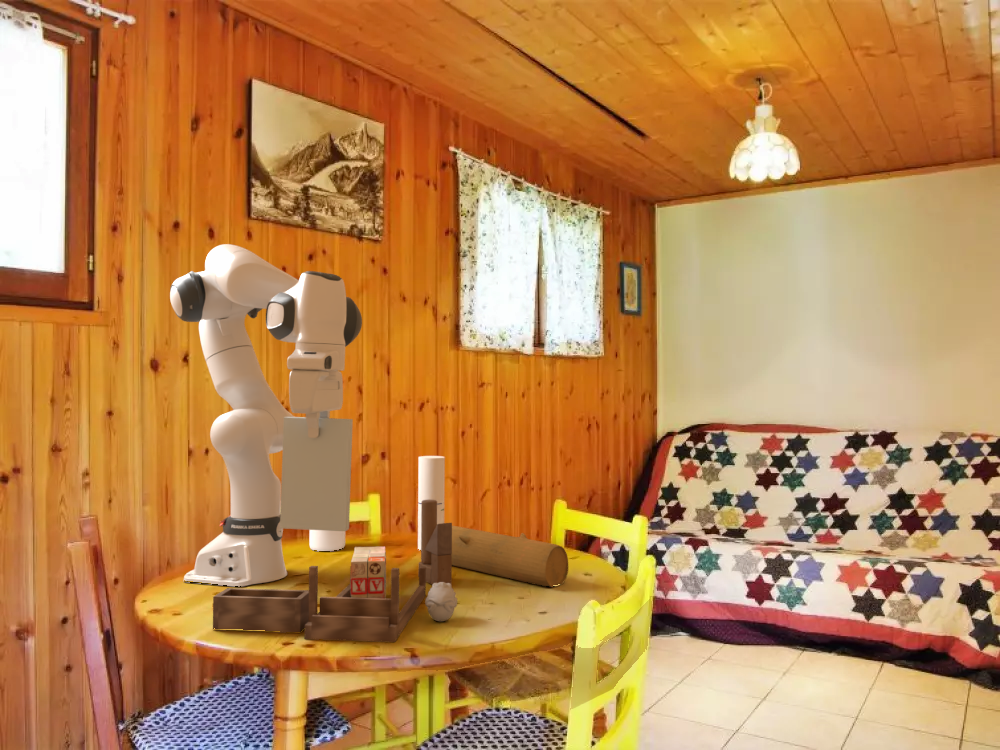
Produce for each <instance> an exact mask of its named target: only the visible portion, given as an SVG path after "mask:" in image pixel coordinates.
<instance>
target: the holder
mask: <svg viewBox="0 0 1000 750" xmlns="http://www.w3.org/2000/svg"><path fill="white" fill-rule="evenodd" d="M308 622H309V589H308V590H307V589H305V590H303V589H278V588H277V589H275V588H273V589H271V588H270V589H268V588H243V587H242V588H241V587H236V588H232V587H227V588H226V589H224V590H222V591H220V592H218V593H217V594H216V595H213V596H212V630H213V629H214V628H215V629H243V630H265V631H280V632H279V633H286V632H301V631H302V630H303V629H304V628H305V625H306V624H307V623H308ZM304 630H305V629H304ZM304 630H303V631H304ZM303 631H302V632H303ZM302 632H301V633H302Z"/></svg>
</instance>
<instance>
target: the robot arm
mask: <svg viewBox="0 0 1000 750" xmlns="http://www.w3.org/2000/svg"><path fill="white" fill-rule="evenodd" d="M344 281H345V280H344V279H343V278H342V277H340V276H339V275H337V274H333V273H328V272H321V271H313V270H308V271H307V270H306V271H304V272H302V273H301V275H300V277H299V279H298V278H296V277H294V276H293V275H291V274H289V273H287V272H285V271H284V270H281V269H280V268H278V267H276V266H275V265H273V264H272V263H270V262H268V261H266V260H265V259H263V258H262V257H260V256H259V255H257V254H256V253H254V252H253V251H251V250H249V249H246V248H245V247H242V246H239V245H235V244H230V243H227V244H226V243H225V244H224V243H223V244H219V245H217V246H215V247H213V248H212V249H211V250H210V251H209V252H208V254H207V256H206V258H205V262H204V271H203V270H202V271H198V272H194V271H193V270H191V271H190V272H187V274H184V275H183V276H180V277H177V278H176V279H175V280H173V283H172V284H171V286H170V292H169V299H170V300H169V301H170V303H171V307H172V309H173V311H174V312H175V315H176V316H177V317H178V319H180V320H181V321H182V322H186V323H187V322H189V323H198V334H199V339H200V345H201V349H202V354H203V357H204V361H205V363H206V366H207V369H208V372H209V375H210V377H211V380H212V384H213V386H214V389H215V391H216V392H217V395H218V396H219V397H221V398H222V399H223V400H224V401H225V402H226V403H228V405H230V407H231V408H232V410H230V411H228V412H226V413H223V414H220V415H219V416H217V417H216V418H215V420H214V421H213V423H212V425H211V427H210V432H209V436H210V441H211V444H212V447H213V448H214V449H215V451H216V452H218V454H219V455H220V456H221V457H222V459H223V461H224V464H225V468H226V470H227V471H226V472H227V474H228V479H229V485H230V515H228V517H225V518H224V519H223V520H221V521H219V523H220V524H219V527H222V532H221V533H220V534H218V535H217V536H216V537H215V538H214V539H213V540H211V541H210V542H209V543H207V544H206V545H204V547H202V548H201V549H200V550H199V551H198V553H197V556H196V557H195V558H196V559H195V564H194V568H193V569H192V570H190V571H188V572H186V574H184V576H183V581H184V580H185V581H193V582H202V583H211V584H210V585H212V584H218V585H217V586H223V585H227V587H235V586H238V587H237V588H241V587H246V586H251V585H257V584H262V583H269V582H274V581H278V580H280V579H283V578H286V576H288V571H287V569H286V564H285V561H284V555H283V545H282V538H283V533H284V532H283V531H284V528H280V514H281V485H282V482H281V480H280V478H279V477H278V476H277V475H276V474H275V473H274V470H273V466H272V465H271V464H272V463H271V459H270V455H271V454H275V453H279V452H281V451H282V452H283V427H284V417H295V416H294V415H293V414H305V417H306V422H307V426H308V437H310V438H317V437H319V436H320V428H319V418H330V417H331V411H339V410H341V409H342V407H343V403H344V387H343V386H344V385H343V383H344V381H343V380H344V379H343V374H342V372H341V371H343V372H344V371H345V367H346V365H345V363H346V362H345V361H346V360H345V359H346V347H348V346H349V345H351V343H352V342H354V340H355V339H356V338H357V337H358V335H359V334H360V333H361V330H362V326H363V317H362V313H361V311H360V309H359V306H357V304H356V303H355V301H354V300H353V299H352V298H351V297H349V296H347V293H346V285H345V282H344ZM263 309H265V324H266V328H267V330H268V332H269V333H270V334H271V336H272V337H273V338H274V339H276V340H277V341H282V342H286V343H294V345H295V349H294V351H293V352H292V354H290V355H289V356H288V357H287V361H286V366H287V369H288V370H290V372H289V377H288V378H289V379H288V395H289V398H288V399H289V400H288V401H289V406H290V410H291V412H292V413H291V412H289V411H288V410H287V409H286V408H285V406H283V404H282V403H281V401H280V400H279V399H278V397H277V395H276V394H275V393H274V391H273V390H272V388H271V386H270V385H269V383H268V382H267V380H266V377H265V375H264V373H263V371H262V369H261V365H260V363H259V359H258V356H257V355H256V354H257V353H256V352H255V349H254V346H253V343H252V340H251V339H250V336H249V334H248V332H247V329H246V326H245V320H246V316H247V315H248V316H249V317H250V318H251V319H256V317H258V313H259V312H261V311H262V310H263ZM240 586H241V587H240Z"/></svg>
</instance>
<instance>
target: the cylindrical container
mask: <svg viewBox="0 0 1000 750" xmlns="http://www.w3.org/2000/svg"><path fill="white" fill-rule="evenodd" d="M445 459H446V457H445V456H442V455H423V456H422V455H420V456H418V469H417V470H418V472H417V473H418V479H417V480H418V486H417V487H418V488H417V490H418V491H417V494H418V495H417V497H418V498H417V502H418V503H417V505H418V506H417V510H418V511H417V550H418V549H419V550H418V551H420V550H421V513H422V501H423V500H436V501H437V524H442V523H445V481H446V480H445V479H446V477H445V474H446V473H445V471H446V470H445V469H446V468H445V467H446V466H445V462H446V461H445Z"/></svg>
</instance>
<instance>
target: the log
mask: <svg viewBox="0 0 1000 750" xmlns="http://www.w3.org/2000/svg"><path fill="white" fill-rule="evenodd" d="M451 555H452V567H453V566H454V567H457V568H462V569H466V570H471V571H476V572H479V573H484V574H489V575H493V576H498V577H502V578H505V579H509V578H510V579H511V580H514V581H519V582H523V583H527V582H528V584H531V583H532V585H536V584H537V586H541V585H542V587H546V586H549V587H548V588H554V587H553V585H558V584H561V585H563V584H564V582H566V579H567V577H568V574H569V557H568V553H567V551H566V549H565V548H564V547H563V546H561V545H558V544H554V543H551V542H550V543H549V542H545V541H541V540H540V541H539V540H535V539H529V538H527V536H526V534H525V533H523V532H521V533H520V536H517V537H516V536H512V535H506V534H501V533H500V534H499V533H496V532H489V531H484V530H479V529H474V528H469V527H463V526H462V527H461V526H456V525H452V554H451Z"/></svg>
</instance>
